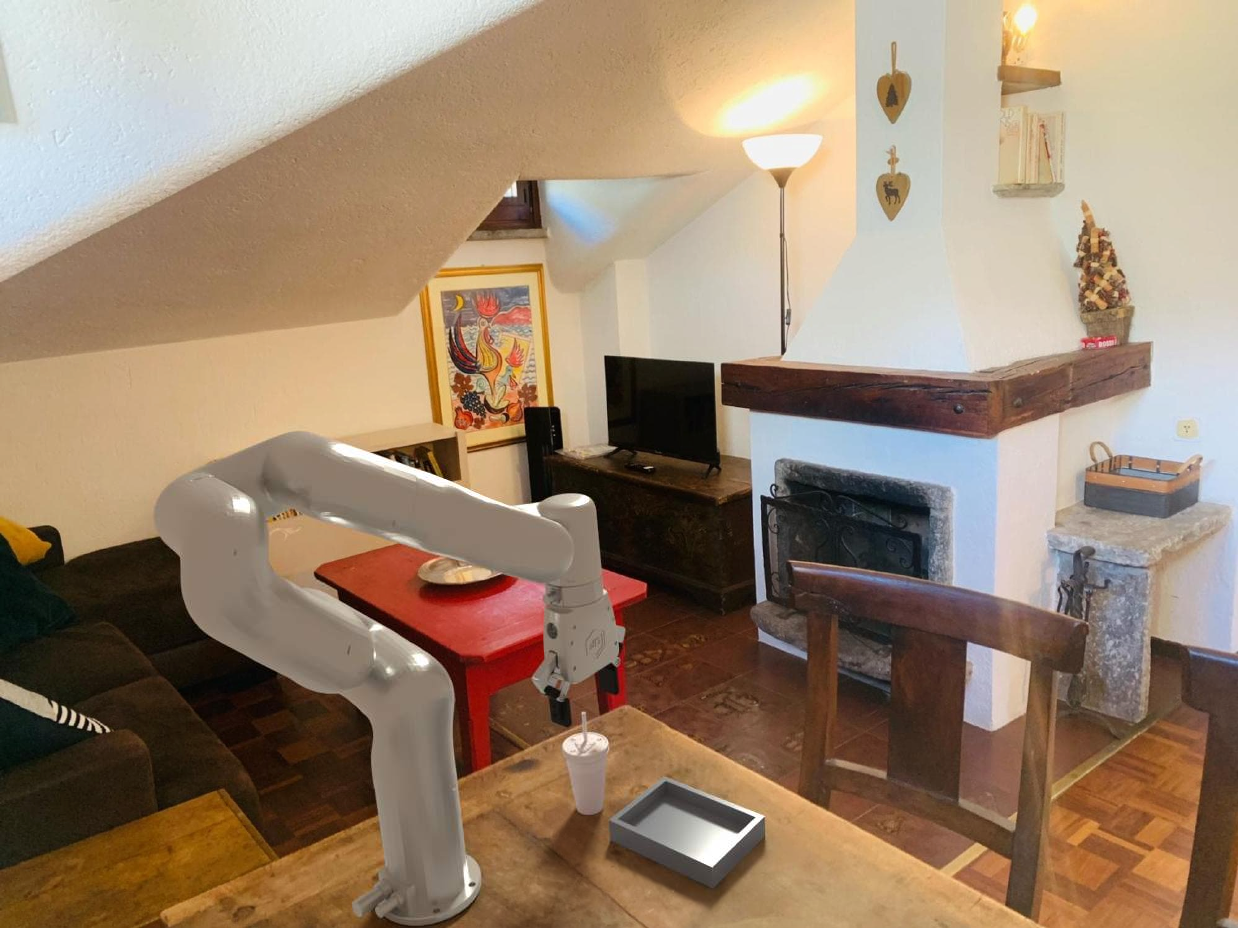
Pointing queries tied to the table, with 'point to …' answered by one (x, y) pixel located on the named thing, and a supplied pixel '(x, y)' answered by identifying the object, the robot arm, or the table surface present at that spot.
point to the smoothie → (587, 768)
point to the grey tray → (688, 830)
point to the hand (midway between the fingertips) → (586, 707)
